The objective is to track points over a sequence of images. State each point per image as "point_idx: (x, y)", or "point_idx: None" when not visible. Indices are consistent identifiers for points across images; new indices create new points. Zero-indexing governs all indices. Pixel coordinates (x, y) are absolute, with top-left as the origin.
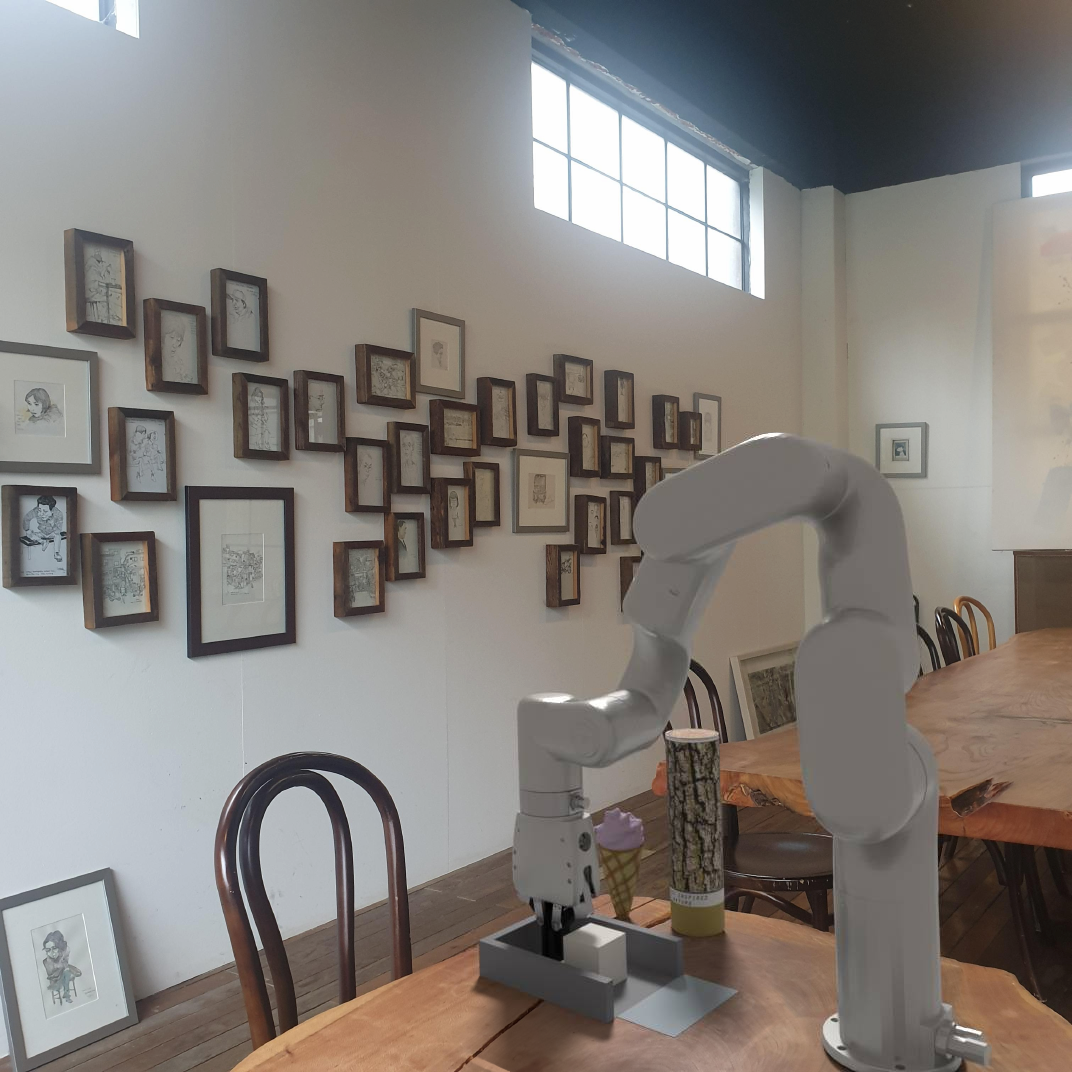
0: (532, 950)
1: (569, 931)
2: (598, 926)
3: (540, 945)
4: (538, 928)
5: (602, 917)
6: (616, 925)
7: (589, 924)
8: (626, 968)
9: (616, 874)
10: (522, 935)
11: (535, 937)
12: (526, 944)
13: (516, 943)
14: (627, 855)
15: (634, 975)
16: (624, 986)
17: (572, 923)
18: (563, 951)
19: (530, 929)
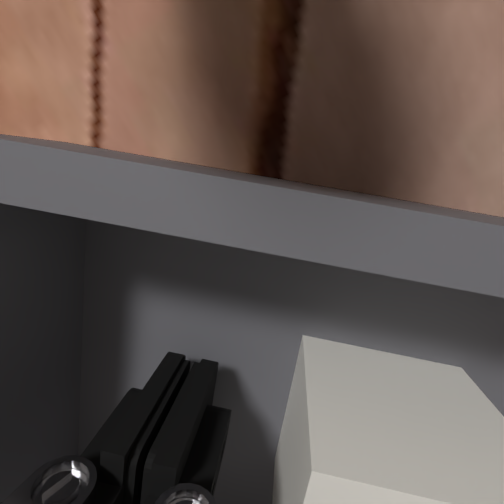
0: (71, 348)
1: (213, 481)
2: (385, 500)
3: (70, 310)
4: (17, 350)
5: (272, 211)
6: (409, 277)
7: (318, 495)
8: (480, 391)
9: None
10: (17, 442)
11: (42, 353)
12: (49, 392)
13: (33, 454)
14: None
15: (482, 340)
16: None
17: (207, 490)
18: (223, 451)
19: (8, 406)
